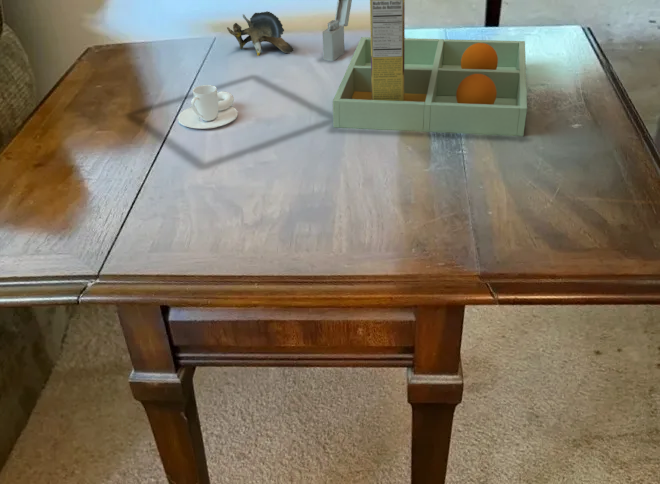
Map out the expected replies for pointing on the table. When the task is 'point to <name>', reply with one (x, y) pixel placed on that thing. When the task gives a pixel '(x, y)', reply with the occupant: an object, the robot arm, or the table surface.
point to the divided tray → (436, 91)
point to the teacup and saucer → (208, 108)
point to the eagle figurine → (262, 32)
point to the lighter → (336, 32)
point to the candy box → (387, 49)
